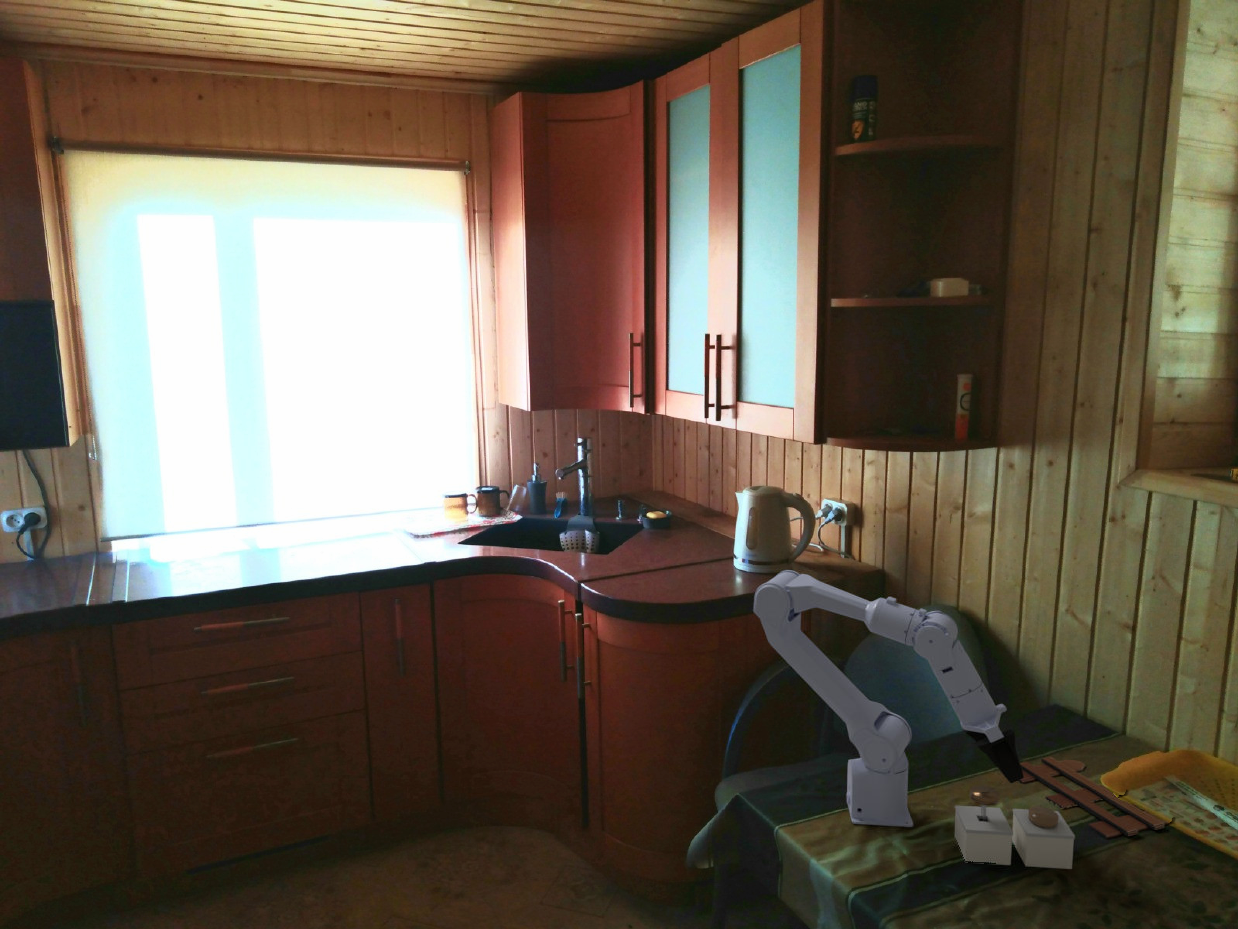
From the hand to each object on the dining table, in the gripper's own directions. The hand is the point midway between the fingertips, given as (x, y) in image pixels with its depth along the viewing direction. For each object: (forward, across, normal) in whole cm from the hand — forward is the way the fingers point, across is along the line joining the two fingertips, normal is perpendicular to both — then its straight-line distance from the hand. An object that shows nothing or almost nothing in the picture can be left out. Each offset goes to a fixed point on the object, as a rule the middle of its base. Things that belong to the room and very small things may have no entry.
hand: (1009, 772), depth 128 cm
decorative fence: (+16, +20, -11) cm, 28 cm away
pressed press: (+13, +1, +2) cm, 13 cm away
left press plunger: (+6, 0, +7) cm, 9 cm away
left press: (+9, +1, +9) cm, 13 cm away
